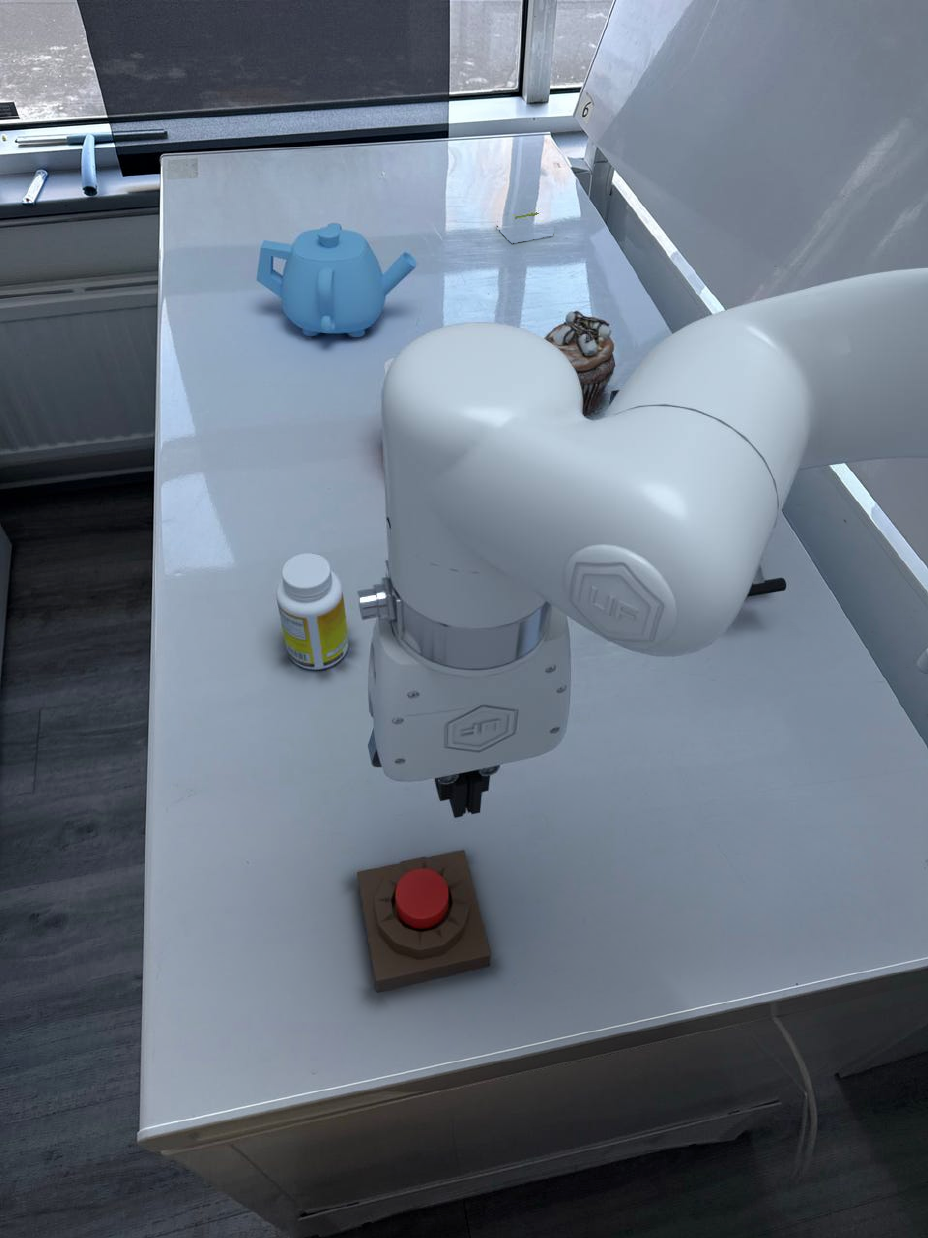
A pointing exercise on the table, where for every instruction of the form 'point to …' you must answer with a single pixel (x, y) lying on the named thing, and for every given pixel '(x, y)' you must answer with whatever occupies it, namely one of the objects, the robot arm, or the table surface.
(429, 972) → the button block
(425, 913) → the red button
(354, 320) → the teapot
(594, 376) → the cupcake
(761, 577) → the toaster lever
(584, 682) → the table surface
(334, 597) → the supplement bottle
